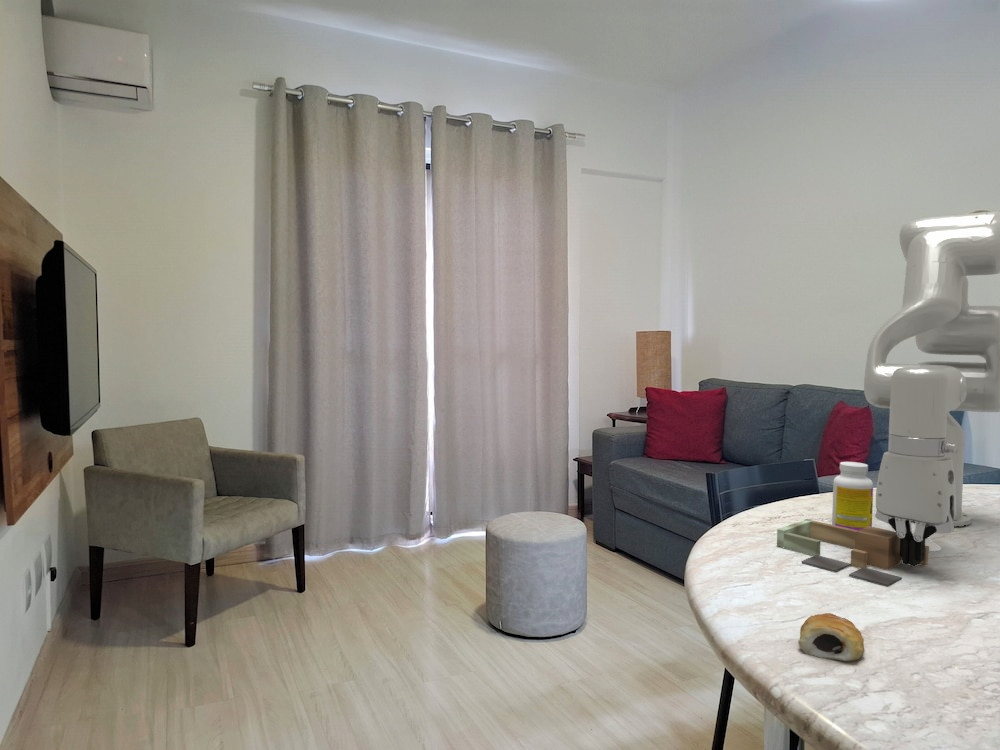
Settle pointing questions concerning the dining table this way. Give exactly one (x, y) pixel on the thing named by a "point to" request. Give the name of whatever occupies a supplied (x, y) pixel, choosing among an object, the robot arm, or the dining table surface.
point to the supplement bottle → (852, 497)
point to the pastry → (831, 638)
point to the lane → (811, 533)
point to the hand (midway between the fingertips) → (911, 563)
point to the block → (879, 546)
